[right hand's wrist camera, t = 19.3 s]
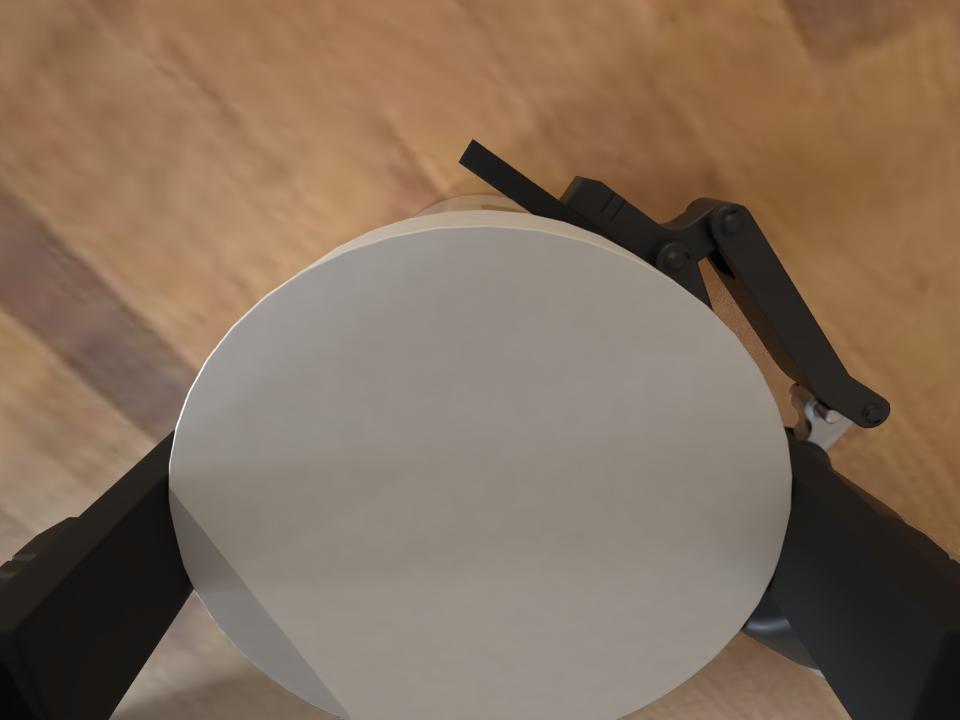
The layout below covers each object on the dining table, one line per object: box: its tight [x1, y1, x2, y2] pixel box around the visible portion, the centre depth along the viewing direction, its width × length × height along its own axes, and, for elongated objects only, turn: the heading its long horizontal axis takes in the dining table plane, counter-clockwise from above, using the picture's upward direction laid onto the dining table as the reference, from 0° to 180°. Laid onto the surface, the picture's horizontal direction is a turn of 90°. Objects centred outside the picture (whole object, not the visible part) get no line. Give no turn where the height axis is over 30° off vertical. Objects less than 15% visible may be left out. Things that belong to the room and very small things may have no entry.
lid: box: [169, 210, 792, 720], centre depth 11 cm, size 12×12×2 cm
